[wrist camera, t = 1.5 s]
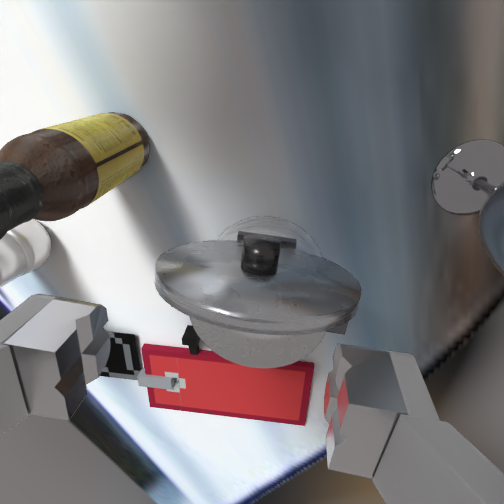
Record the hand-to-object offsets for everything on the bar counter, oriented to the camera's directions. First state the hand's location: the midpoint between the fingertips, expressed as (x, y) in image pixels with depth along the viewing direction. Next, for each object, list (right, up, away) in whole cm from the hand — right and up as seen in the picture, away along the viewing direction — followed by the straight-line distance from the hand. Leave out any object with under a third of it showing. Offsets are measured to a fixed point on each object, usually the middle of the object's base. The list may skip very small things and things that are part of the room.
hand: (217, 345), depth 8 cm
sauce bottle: (-12, +13, +28) cm, 34 cm away
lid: (+1, 0, +15) cm, 16 cm away
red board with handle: (-6, -14, +41) cm, 44 cm away
